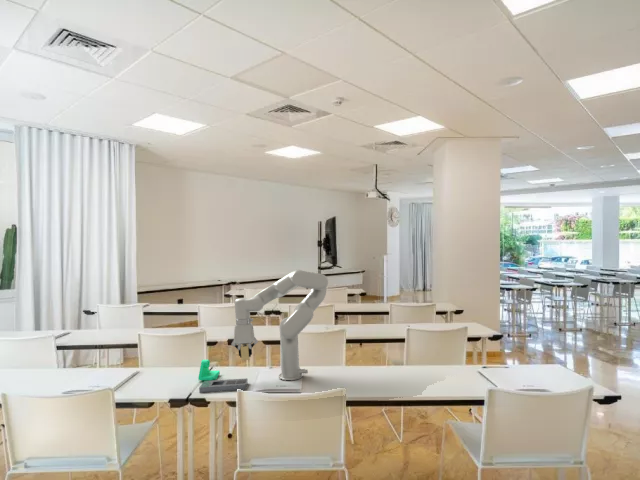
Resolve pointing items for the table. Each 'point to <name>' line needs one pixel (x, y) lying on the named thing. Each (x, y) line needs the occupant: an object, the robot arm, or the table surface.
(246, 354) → the nut block
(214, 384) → the grey compartment tray
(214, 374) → the camera mount
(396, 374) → the table surface
